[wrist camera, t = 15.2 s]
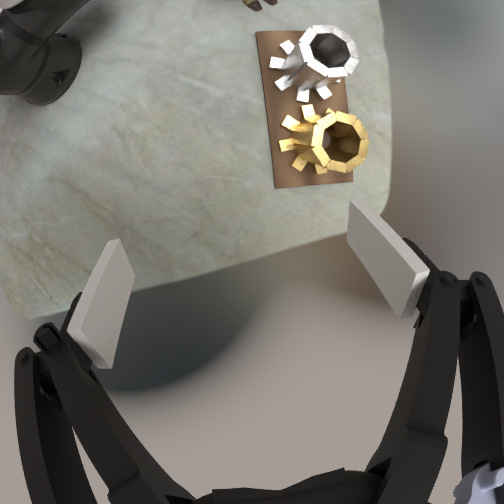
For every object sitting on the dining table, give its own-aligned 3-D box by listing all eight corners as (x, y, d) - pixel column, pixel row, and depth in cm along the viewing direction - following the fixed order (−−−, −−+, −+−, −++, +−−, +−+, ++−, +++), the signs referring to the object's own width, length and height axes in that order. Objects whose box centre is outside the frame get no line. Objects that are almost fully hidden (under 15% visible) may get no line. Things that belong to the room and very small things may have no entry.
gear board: (275, 187, 45) (280, 195, 40) (255, 33, 34) (258, 20, 28) (351, 180, 45) (365, 187, 40) (334, 34, 34) (347, 24, 28)
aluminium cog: (280, 107, 39) (298, 97, 27) (261, 46, 34) (272, 16, 22) (343, 97, 38) (381, 88, 27) (326, 39, 34) (356, 13, 22)
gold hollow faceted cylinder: (304, 185, 45) (329, 204, 33) (264, 130, 40) (276, 128, 29) (355, 149, 42) (394, 157, 30) (319, 94, 38) (350, 81, 26)
